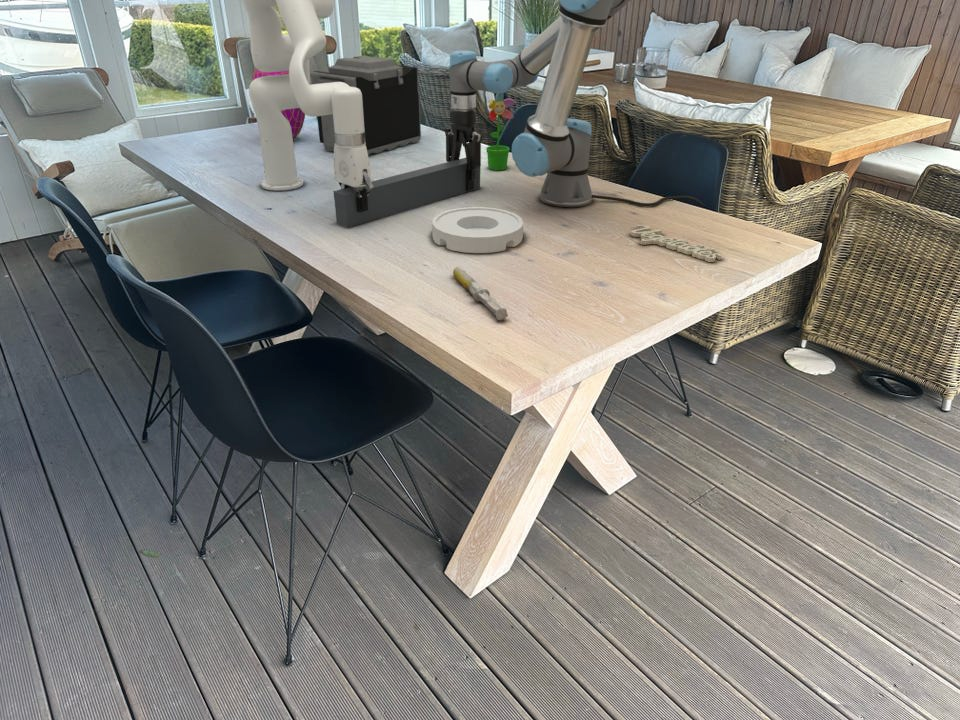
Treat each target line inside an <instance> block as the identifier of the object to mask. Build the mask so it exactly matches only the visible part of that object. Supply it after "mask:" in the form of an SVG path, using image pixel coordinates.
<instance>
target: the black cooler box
mask: <svg viewBox="0 0 960 720" xmlns="http://www.w3.org/2000/svg"><path fill="white" fill-rule="evenodd" d="M310 80H311V85H312V84H321V83H332V82H343V83H346V84H347V85H349V86H350V87H356V88H358V89H360V91H361V93H362V102H363V116H364V129H365V143H366V145H365V146H366V148H367V153H368V156H369V155H371V154H375V155H377V154H381V153H382V152H383V151H391V150H395V149H396V148H397V147H405V146H407V145H408V144H416V143H418V142H419V141H421V137H422V128H421V97H420V92H419V91H420V89H419V68H418V67H417V66H408V65H400V64H396V62H395V60H394V59H393V58H385V57H377V56H367V55H356V56H353V57H350V58H349V57H343V58H342V57H341V58H337V59H336V60H335V63H334V64H333V65H330V66H329V67H328V72H327V71H320V70H314V71H313V70H312V71H310ZM316 119H317V128H318V138H319V143H320V144H323V146H324V149H325V150H327V151H330V152H334V146H335V143H336V141H335V130H334V120H333V114H329V115H323V116H318V117H317V116H316Z"/></svg>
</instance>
